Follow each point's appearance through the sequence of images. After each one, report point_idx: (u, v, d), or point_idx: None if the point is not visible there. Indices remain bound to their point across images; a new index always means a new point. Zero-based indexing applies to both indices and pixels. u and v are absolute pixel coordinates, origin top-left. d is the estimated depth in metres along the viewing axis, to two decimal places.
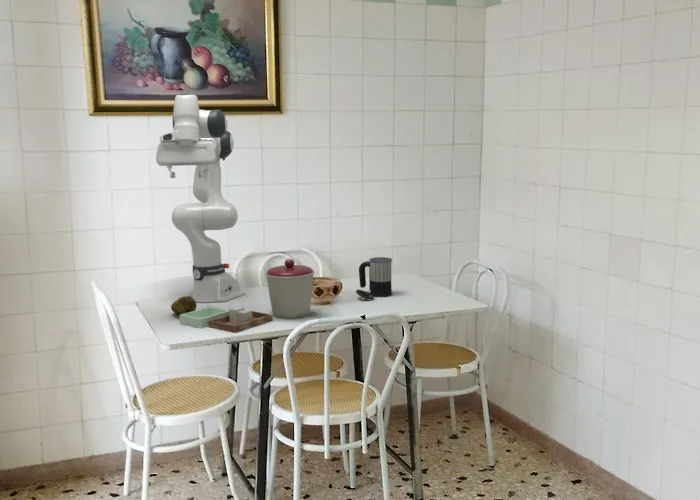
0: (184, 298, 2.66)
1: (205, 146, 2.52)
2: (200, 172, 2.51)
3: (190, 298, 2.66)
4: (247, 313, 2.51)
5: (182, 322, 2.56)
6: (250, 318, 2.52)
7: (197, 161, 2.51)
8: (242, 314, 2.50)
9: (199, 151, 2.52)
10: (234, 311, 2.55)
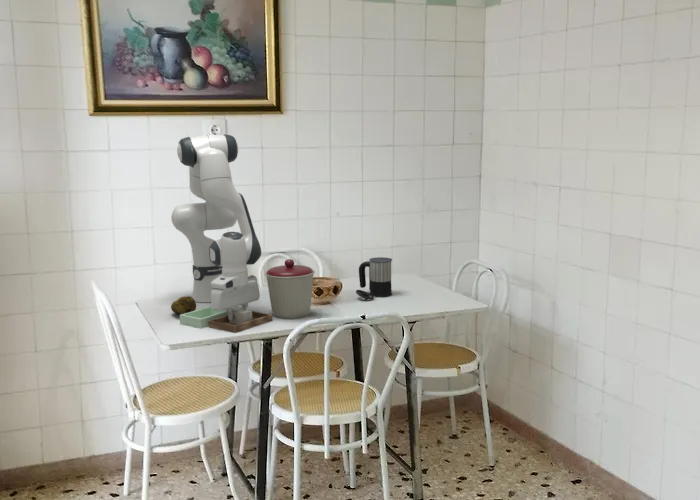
0: (184, 298, 2.66)
1: (253, 286, 2.60)
2: None
3: (190, 298, 2.66)
4: (247, 313, 2.51)
5: (182, 322, 2.56)
6: (250, 318, 2.52)
7: (248, 302, 2.58)
8: (242, 314, 2.50)
9: (248, 291, 2.58)
10: (234, 311, 2.55)
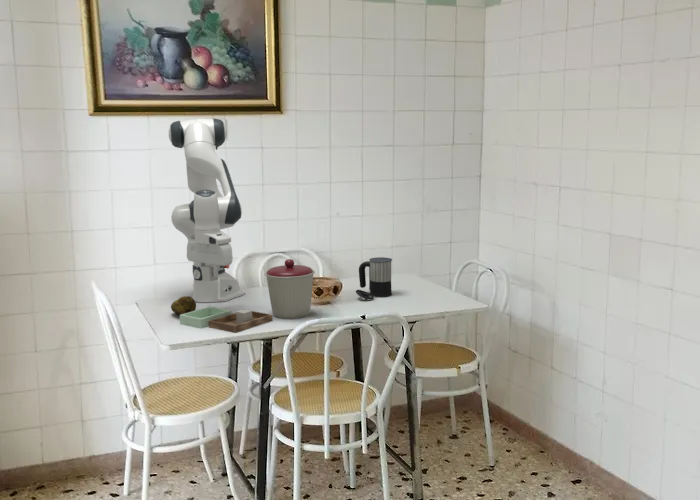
0: (184, 298, 2.66)
1: None
2: None
3: (190, 298, 2.66)
4: (247, 313, 2.51)
5: (182, 322, 2.56)
6: (250, 318, 2.52)
7: None
8: (242, 314, 2.50)
9: None
10: None
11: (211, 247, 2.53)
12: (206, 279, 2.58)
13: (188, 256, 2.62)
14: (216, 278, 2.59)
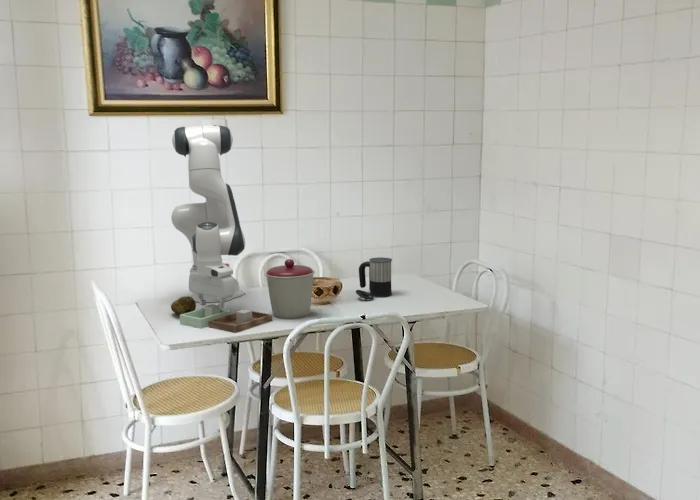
0: (184, 298, 2.66)
1: None
2: None
3: (190, 298, 2.66)
4: (247, 313, 2.51)
5: (182, 322, 2.56)
6: (250, 318, 2.52)
7: None
8: (242, 314, 2.50)
9: None
10: (217, 307, 2.61)
11: (213, 279, 2.55)
12: None
13: (190, 287, 2.64)
14: None
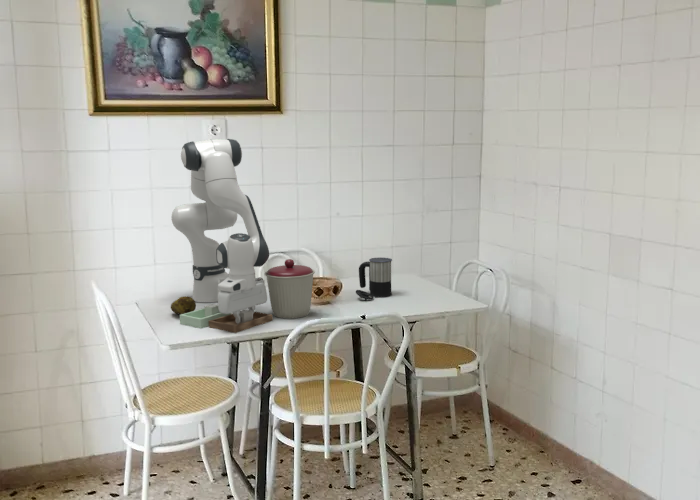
0: (183, 298, 2.66)
1: (260, 288, 2.55)
2: None
3: (189, 298, 2.66)
4: (247, 313, 2.51)
5: (182, 322, 2.56)
6: (250, 318, 2.52)
7: (255, 304, 2.54)
8: (242, 314, 2.50)
9: (256, 294, 2.54)
10: (217, 307, 2.61)
11: None
12: None
13: None
14: None
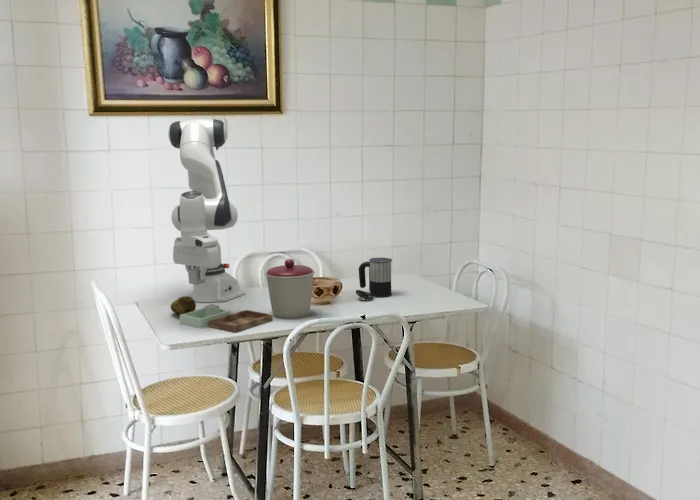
0: (183, 298, 2.66)
1: None
2: None
3: (189, 298, 2.66)
4: None
5: (182, 322, 2.56)
6: None
7: None
8: None
9: None
10: (217, 307, 2.61)
11: (197, 250, 2.48)
12: None
13: (174, 259, 2.57)
14: None
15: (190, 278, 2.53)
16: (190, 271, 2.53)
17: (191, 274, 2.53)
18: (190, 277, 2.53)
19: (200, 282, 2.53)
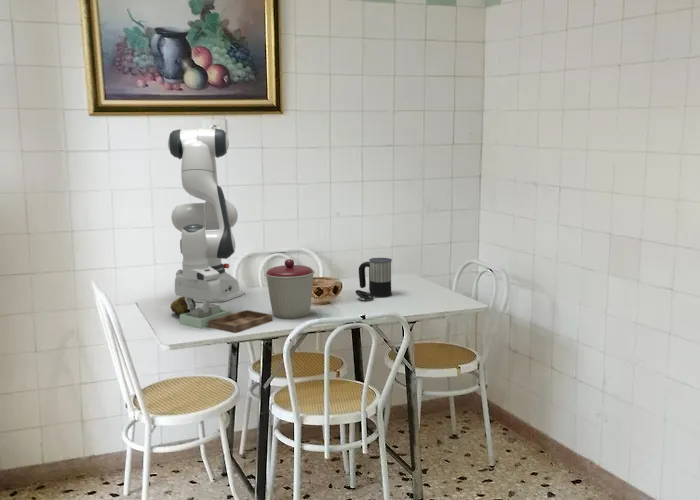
0: (183, 298, 2.66)
1: None
2: None
3: None
4: None
5: (182, 322, 2.56)
6: None
7: None
8: None
9: None
10: (217, 307, 2.61)
11: (199, 283, 2.50)
12: None
13: (176, 291, 2.59)
14: None
15: None
16: (192, 312, 2.55)
17: (193, 315, 2.55)
18: None
19: None
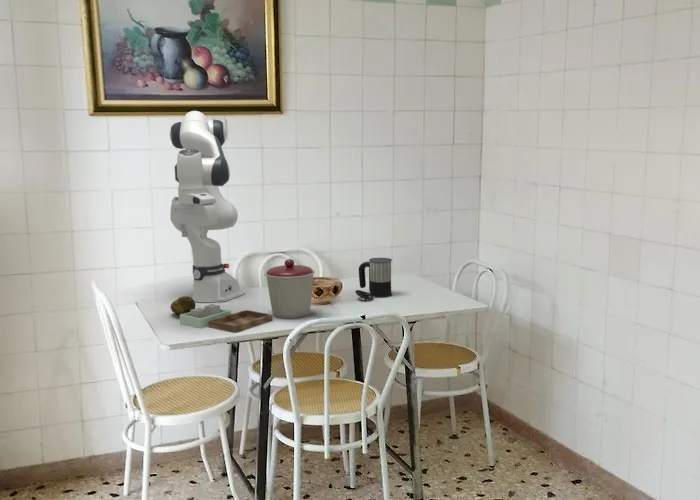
0: (183, 298, 2.66)
1: None
2: None
3: (189, 298, 2.66)
4: None
5: (182, 322, 2.56)
6: None
7: None
8: (204, 311, 2.56)
9: None
10: (217, 307, 2.61)
11: (195, 207, 2.46)
12: None
13: (171, 218, 2.55)
14: None
15: None
16: (192, 312, 2.55)
17: (193, 315, 2.55)
18: None
19: None
